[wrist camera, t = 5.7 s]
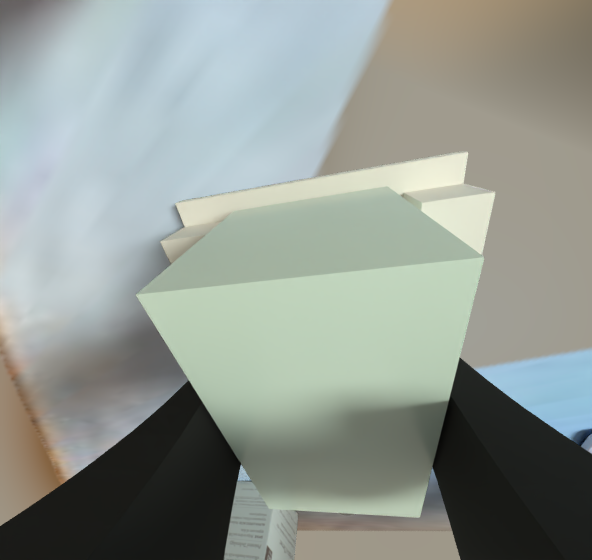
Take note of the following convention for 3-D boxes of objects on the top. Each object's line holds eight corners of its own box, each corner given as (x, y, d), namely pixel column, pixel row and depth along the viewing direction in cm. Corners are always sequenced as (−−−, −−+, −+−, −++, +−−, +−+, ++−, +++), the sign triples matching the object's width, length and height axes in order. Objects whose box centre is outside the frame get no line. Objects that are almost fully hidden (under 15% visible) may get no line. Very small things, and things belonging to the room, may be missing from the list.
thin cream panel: (459, 151, 8) (504, 153, 6) (429, 364, 14) (448, 404, 12) (182, 200, 10) (147, 214, 8) (249, 372, 15) (238, 407, 13)
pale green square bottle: (233, 211, 9) (136, 294, 4) (387, 186, 8) (484, 256, 3) (301, 432, 16) (294, 548, 12) (382, 433, 15) (409, 559, 11)
